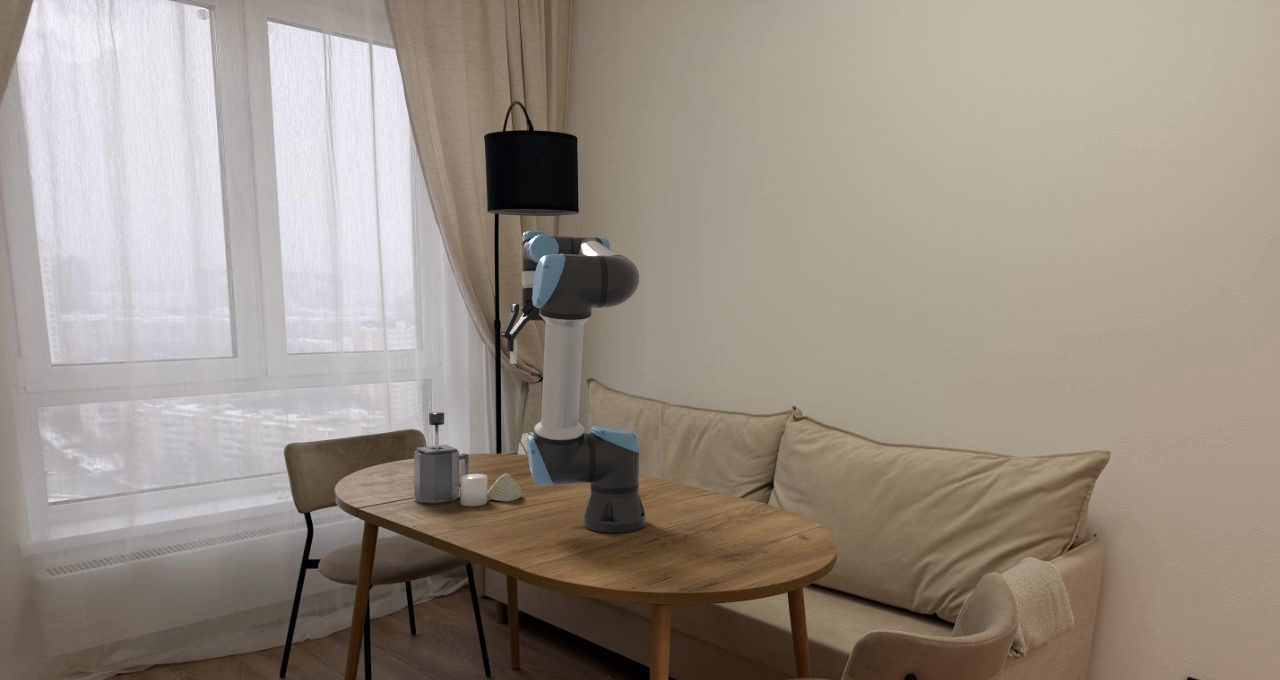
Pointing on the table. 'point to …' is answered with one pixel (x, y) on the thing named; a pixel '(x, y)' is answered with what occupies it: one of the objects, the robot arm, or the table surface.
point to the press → (438, 474)
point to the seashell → (504, 489)
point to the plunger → (436, 424)
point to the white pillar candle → (473, 489)
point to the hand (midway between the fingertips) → (535, 363)
